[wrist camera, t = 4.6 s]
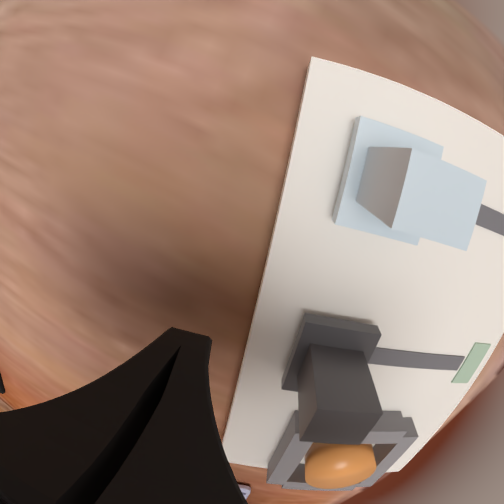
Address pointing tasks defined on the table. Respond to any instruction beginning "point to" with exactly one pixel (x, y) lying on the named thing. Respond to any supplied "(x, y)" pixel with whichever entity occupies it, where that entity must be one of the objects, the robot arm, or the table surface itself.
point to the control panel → (370, 281)
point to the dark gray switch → (333, 380)
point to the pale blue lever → (405, 188)
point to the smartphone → (1, 385)
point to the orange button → (338, 465)
